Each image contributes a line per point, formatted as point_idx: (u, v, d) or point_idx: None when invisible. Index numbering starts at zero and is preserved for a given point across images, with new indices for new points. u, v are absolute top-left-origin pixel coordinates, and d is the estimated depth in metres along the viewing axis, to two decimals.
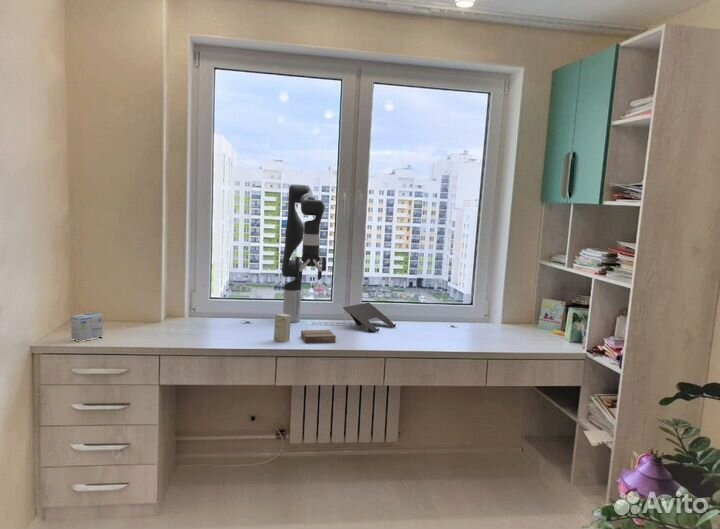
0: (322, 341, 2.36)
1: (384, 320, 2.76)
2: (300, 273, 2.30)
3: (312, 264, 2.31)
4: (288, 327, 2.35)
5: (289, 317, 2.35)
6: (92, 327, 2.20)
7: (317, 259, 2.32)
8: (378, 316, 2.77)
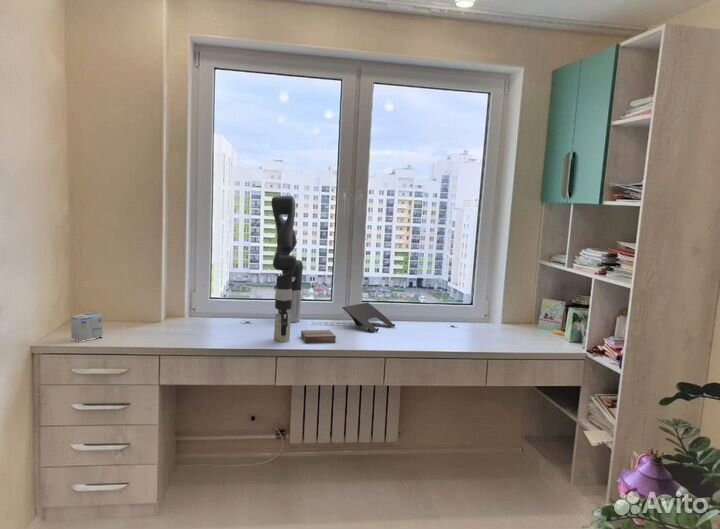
0: (322, 341, 2.36)
1: (383, 320, 2.76)
2: (285, 329, 2.32)
3: None
4: (288, 327, 2.34)
5: (289, 317, 2.35)
6: (92, 327, 2.20)
7: None
8: (377, 316, 2.77)
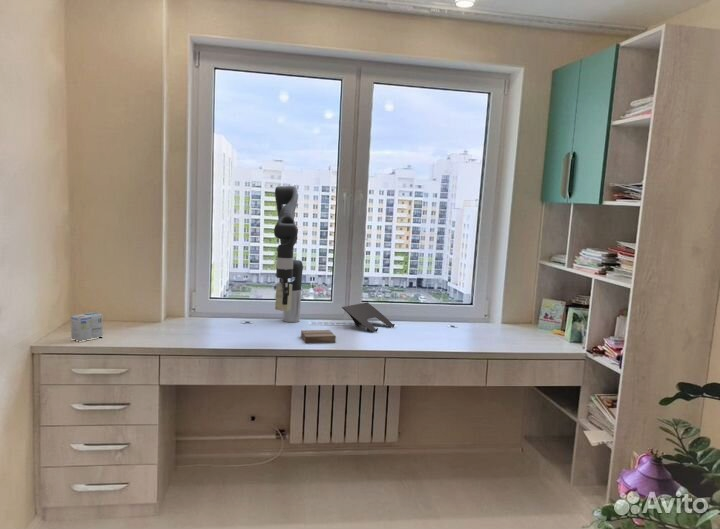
0: (322, 341, 2.36)
1: (383, 320, 2.76)
2: (287, 298, 2.31)
3: None
4: (289, 296, 2.33)
5: (290, 286, 2.33)
6: (92, 327, 2.20)
7: None
8: (377, 316, 2.78)
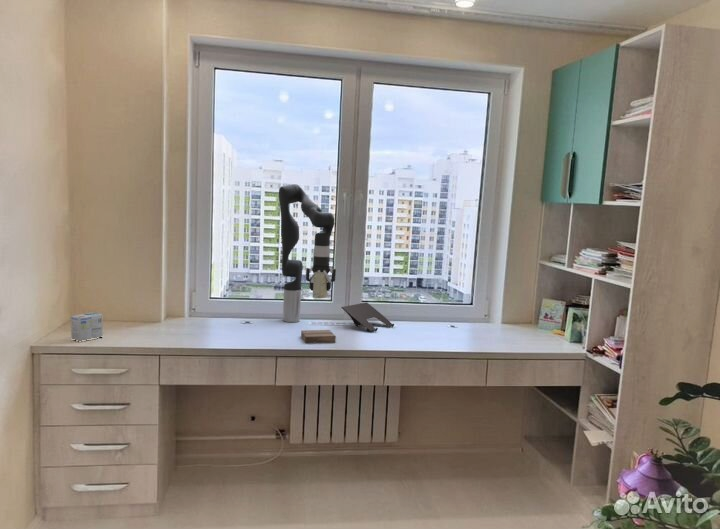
0: (322, 341, 2.36)
1: (382, 320, 2.77)
2: None
3: None
4: None
5: None
6: (92, 327, 2.20)
7: None
8: (376, 316, 2.78)
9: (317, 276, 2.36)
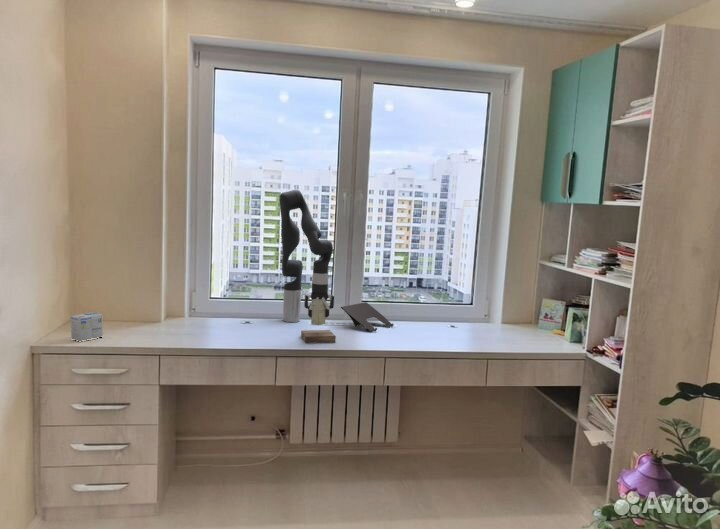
0: (322, 341, 2.36)
1: (382, 320, 2.77)
2: None
3: None
4: None
5: None
6: (92, 327, 2.20)
7: None
8: (376, 316, 2.78)
9: (316, 303, 2.37)
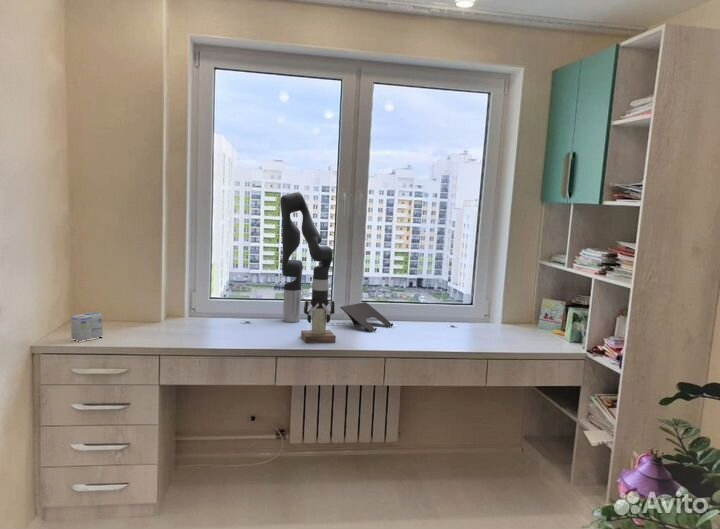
0: (322, 341, 2.36)
1: (381, 319, 2.77)
2: None
3: None
4: None
5: None
6: (92, 327, 2.20)
7: None
8: (375, 315, 2.78)
9: (316, 313, 2.37)
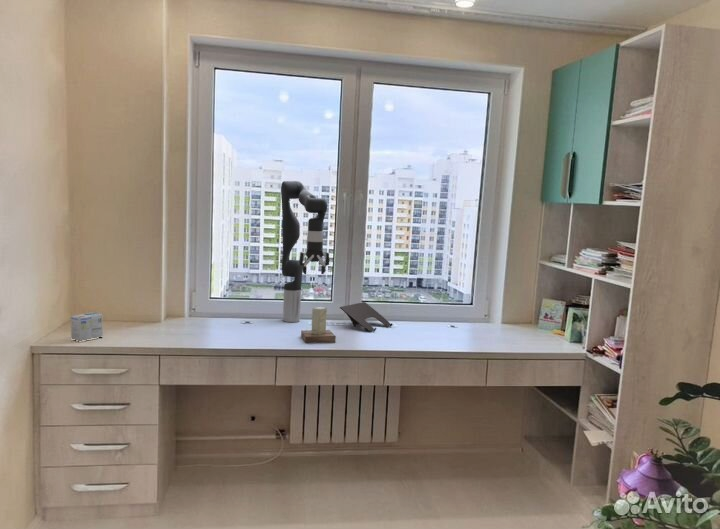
0: (322, 341, 2.36)
1: (380, 319, 2.77)
2: None
3: None
4: None
5: None
6: (92, 327, 2.20)
7: None
8: (374, 315, 2.78)
9: (316, 313, 2.37)
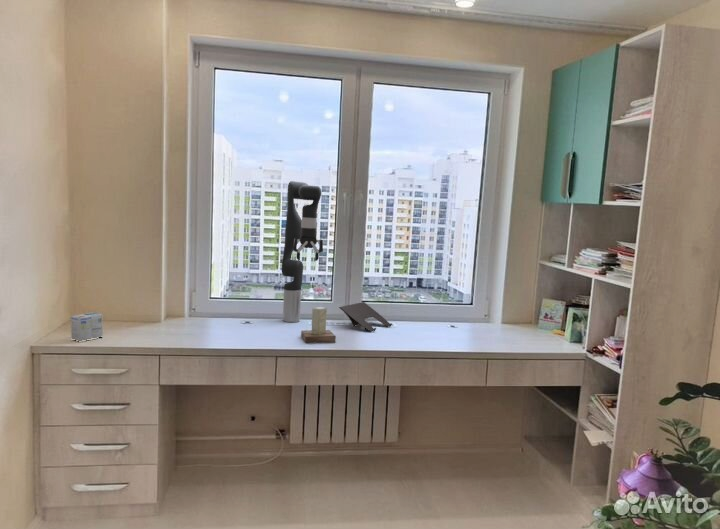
0: (322, 341, 2.36)
1: (380, 319, 2.77)
2: None
3: None
4: None
5: None
6: (92, 327, 2.20)
7: None
8: (374, 315, 2.78)
9: (316, 313, 2.37)
